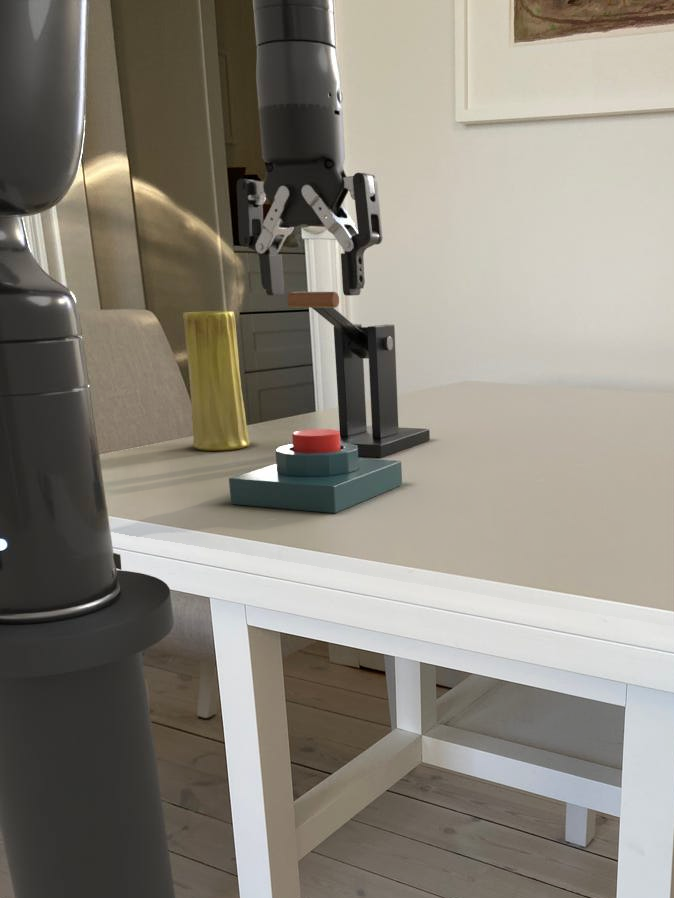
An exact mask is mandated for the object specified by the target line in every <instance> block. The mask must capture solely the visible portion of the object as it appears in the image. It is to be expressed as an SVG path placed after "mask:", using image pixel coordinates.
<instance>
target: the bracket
mask: <svg viewBox="0 0 674 898" xmlns="http://www.w3.org/2000/svg"><path fill="white" fill-rule="evenodd" d="M352 324H353V325H355V326H356V327H363V326H362V324H361V323H352ZM366 327H367V333H368V354H369V359H368V372H369V373H368V374H369V393H370V395H369V396H370V417H371V425H367V424H368V423H367V408H366V407H367V406H366V386H365V368H364V366H365V365H364V364H365V363H364V358H359V357H358V356H357V355H356V354H354V353H353V352H352V351H351V350H349V342H350V339H349V338H348V337H347V336H346V335H344V334H343V333H342V332H341V331H340V330H338V329H337V328H336V327H335V326H333V338H334V339H333V342H334V358H335V373H336V374H335V375H336V388H337V389H336V390H337V391H336V392H337V407H338V408H337V409H338V420H339V421H338V426H339V430H338V431H339V432H340V442H344V443H350V444H354V445H357V447H358V457H361V458H363V457H364V458H377V459H378V458H380V459H381V458H384V457H387V456H389V455H392V454H395V453H398V452H401V451H403V450H406V449H410V448H412V447H415V446H418V445H420V444H423V443H426V442H429V441H430V440H431V438H430V437H431V435H430V428H419V427H418V428H417V427H399V408H398V407H399V405H398V382H397V380H398V378H397V357H396V353H397V352H396V332H395V331H396V330H395V324H379V325H378V324H377V325H370V326H366Z"/></svg>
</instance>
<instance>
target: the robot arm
mask: <svg viewBox="0 0 674 898" xmlns="http://www.w3.org/2000/svg"><path fill="white" fill-rule="evenodd" d="M252 7H253V21H254V32H255V33H254V35H255V45H256V67H255V68H256V69H255V80H256V95H257V106H258V118H259V131H260V142H261V156H262V159H263V162H264V165H265V169H266V173H265V177H264V179H263V180H257V179H256V180H255V179H248V178H239V179H238V180H237V181H236V201H237V222H238V225H237V227H238V242H239V245H240V246H241V247H245V248H249V249H251V250H253V251H255V252H256V253H257V254H258V257H259V270H260V271H259V272H260V282H261V283H260V284H261V286H262V288H263V290H265V293H266V295H267V296H284V294H285V281H284V267H283V254H279V252H280V251H281V249H282V247H283V245H284V243H285V241H286V239H287V237H288V236H290V235H291V234H292V233H293V231H294V229H295V228H309V227H317V228H319V227H320V228H321V227H322V228H325V229H326V230H327V231H328V232H329V233H331V235H333V236H334V238H335V239H336V241H337V242H338V244H339V245H340V246H341V248H342V250H343V251H344V252H342V253H340V264H341V282H342V284H341V285H342V293H343V295H344V296H348V297H349V296H351V297H352V296H353V297H354V296H360V295H361V292H362V291H361V289H364V287H365V283H366V282H365V281H366V280H365V261H364V260H365V259H364V254H365V251H366V250H367V249H369V248H371V247H373V246H376V245H380V244H381V243H383V242H382V241H383V228H382V227H383V226H382V219H381V218H382V217H381V208H380V207H381V206H380V196H379V187H378V186H379V185H378V179H377V177H376V176H375V175H374V174H370V173H366V172H355V173H354V175H349V176H347V174H346V172H345V171H346V170H345V165H344V164H345V159H346V149H345V133H344V113H343V112H344V111H343V101H344V100H343V99H344V97H343V92H342V78H341V73H340V66H339V61H338V53H337V43H336V24H335V23H336V22H335V3H334V0H252ZM89 15H90V0H0V624H13V625H20V624H38V623H48V622H55V621H61V620H67V619H71V618H76V617H80V616H83V615H87V614H90V613H94V612H96V611H99V610H101V609H104V608H106V607H108V606H110V605H111V604H113V603H115V602H116V601H117V600H118V599H119V598H120V596H121V592H120V585H119V582H118V581H117V570H121V571H122V559H121V558H122V557H121V554H120V553H116V552H114V549H113V548H114V547H113V540H112V534H111V526H110V519H109V513H108V506H107V505H108V504H107V498H106V491H105V484H104V477H103V471H102V463H101V457H100V451H99V450H100V449H99V442H98V435H97V429H96V422H95V421H96V420H95V415H94V407H93V401H92V394H91V388H90V387H91V386H90V381H89V380H90V378H89V373H88V365H87V359H86V353H85V352H86V351H85V345H84V337H83V336H82V334H83V332H82V331H83V330H82V325H81V317H80V312H79V311H80V310H79V306H78V302H77V299H76V297H75V295H74V293H73V292H72V291H71V289H69V288H68V286H65V285H64V284H62V283H60V282H59V281H58V280H56V279H55V278H53V277H52V276H51V275H50V274H48V273H47V272H46V271H45V270H44V269H43V268H42V266H41V265H40V264H39V263H38V261H37V260H36V258H35V256H34V255H33V253H32V250H31V247H30V242H29V239H28V235H27V231H26V230H27V229H26V226H25V221H24V217H29V216H35V215H39V214H42V213H43V212H47V211H48V210H50V209H52V208H53V207H55V206H56V205H58V204H59V203H60V202H61V201H62V200H63V199H64V198H65V196H66V195H67V194H68V193H69V191H70V189H71V187H72V186H73V183H74V182H75V180H76V178H77V175H78V172H79V168H80V164H81V160H82V154H83V149H84V141H85V140H84V139H85V131H86V130H85V129H86V111H87V84H88V83H87V81H88V77H87V76H88V46H89V45H88V44H89V43H88V40H89V19H90V18H89V17H90V16H89ZM348 193H349V195H350V197H351V198H352V200H353V201H354V207H355V217H356V224H355V221H354V220H353V218H352V217H351V216H350V213H348V211H347V209H346V208H345V206H344V205H343V203H344V201H345V199H346V197H347V195H348ZM267 199H268V201H269V203H270V204H271V207H270V208H269V210H268V212H267V214H266V216H265V218H264V208H263V207H264V204H265V202H266V201H267ZM355 225H357V226H355ZM356 227H357V228H356Z"/></svg>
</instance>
